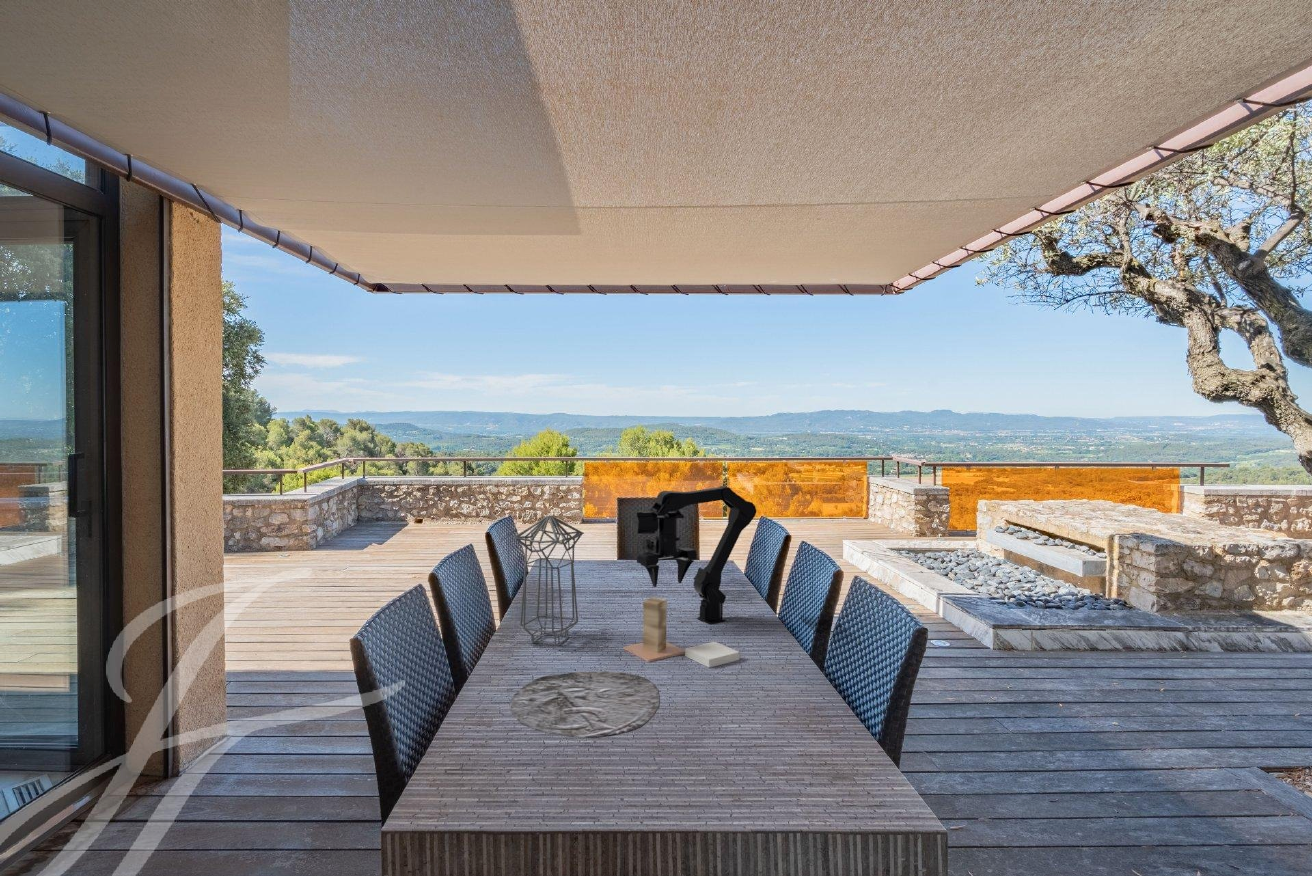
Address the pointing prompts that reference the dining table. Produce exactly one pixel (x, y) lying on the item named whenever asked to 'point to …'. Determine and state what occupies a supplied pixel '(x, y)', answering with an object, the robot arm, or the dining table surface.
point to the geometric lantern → (540, 527)
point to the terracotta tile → (652, 656)
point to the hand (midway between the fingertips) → (667, 584)
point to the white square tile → (712, 654)
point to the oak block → (654, 624)
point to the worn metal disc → (586, 703)
